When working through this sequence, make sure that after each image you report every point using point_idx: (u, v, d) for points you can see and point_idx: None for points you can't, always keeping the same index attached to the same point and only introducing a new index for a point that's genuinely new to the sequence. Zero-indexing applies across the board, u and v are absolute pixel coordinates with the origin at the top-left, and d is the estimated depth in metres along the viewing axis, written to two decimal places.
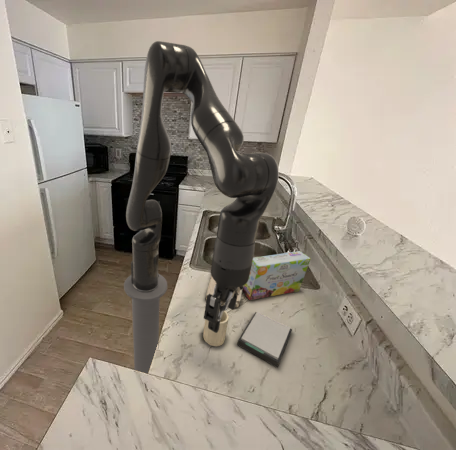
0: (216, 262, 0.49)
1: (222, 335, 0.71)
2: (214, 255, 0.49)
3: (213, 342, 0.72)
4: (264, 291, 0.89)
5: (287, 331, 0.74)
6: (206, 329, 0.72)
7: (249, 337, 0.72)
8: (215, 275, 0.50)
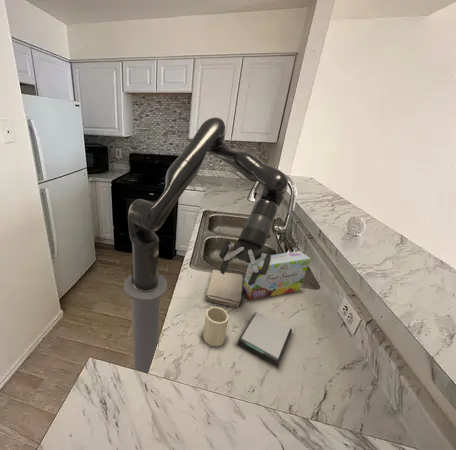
0: None
1: (222, 335, 0.71)
2: None
3: (213, 342, 0.72)
4: (264, 291, 0.89)
5: (287, 331, 0.74)
6: (206, 329, 0.72)
7: (249, 337, 0.72)
8: None
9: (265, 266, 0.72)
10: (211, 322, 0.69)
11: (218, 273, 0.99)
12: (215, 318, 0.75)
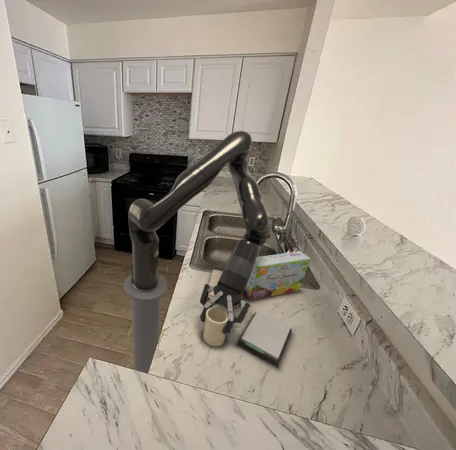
0: None
1: (222, 335, 0.71)
2: None
3: (213, 342, 0.72)
4: (264, 291, 0.89)
5: (287, 331, 0.74)
6: (206, 329, 0.72)
7: (249, 337, 0.72)
8: None
9: (241, 315, 0.69)
10: (211, 322, 0.69)
11: (218, 273, 0.99)
12: (215, 318, 0.75)
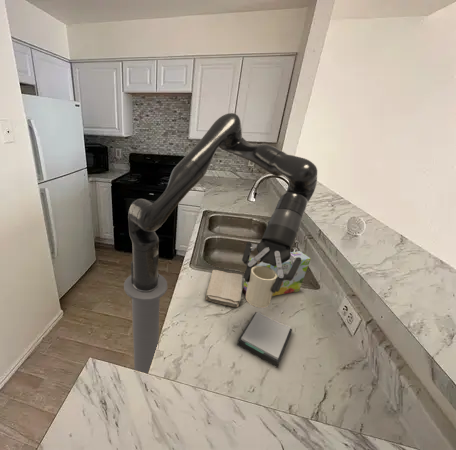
0: None
1: (270, 295, 0.65)
2: None
3: (259, 303, 0.65)
4: None
5: (287, 331, 0.74)
6: (251, 289, 0.66)
7: (249, 337, 0.72)
8: None
9: (293, 271, 0.62)
10: (259, 279, 0.63)
11: (218, 273, 0.99)
12: None
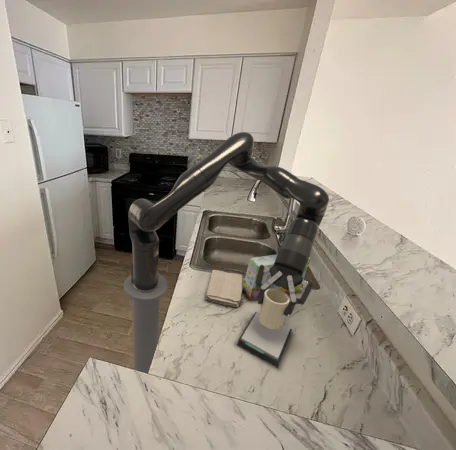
0: None
1: (282, 317, 0.68)
2: None
3: (272, 325, 0.68)
4: None
5: (287, 331, 0.74)
6: (265, 311, 0.69)
7: (249, 337, 0.72)
8: None
9: (305, 296, 0.65)
10: (272, 303, 0.66)
11: (218, 273, 0.99)
12: (271, 300, 0.72)
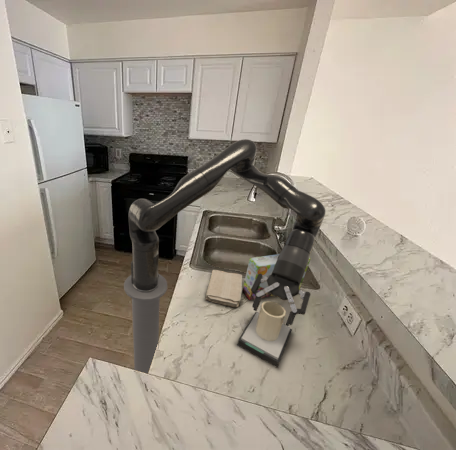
0: None
1: (278, 329, 0.70)
2: None
3: (269, 337, 0.70)
4: None
5: (287, 331, 0.74)
6: (261, 323, 0.71)
7: (249, 337, 0.72)
8: None
9: (304, 306, 0.66)
10: (269, 316, 0.68)
11: (218, 273, 0.99)
12: (268, 312, 0.74)
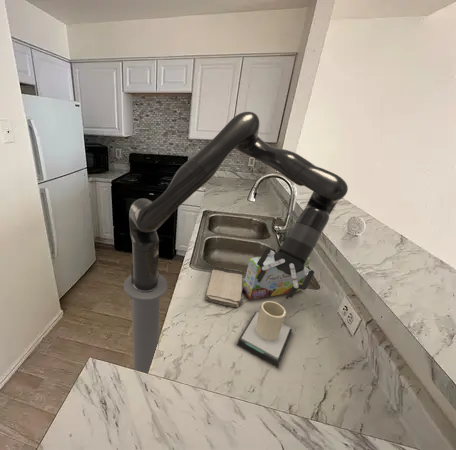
0: None
1: (278, 329, 0.70)
2: None
3: (269, 337, 0.70)
4: (264, 291, 0.89)
5: (287, 331, 0.74)
6: (261, 323, 0.71)
7: (249, 337, 0.72)
8: None
9: (306, 283, 0.70)
10: (269, 316, 0.68)
11: (218, 273, 0.99)
12: (268, 312, 0.74)
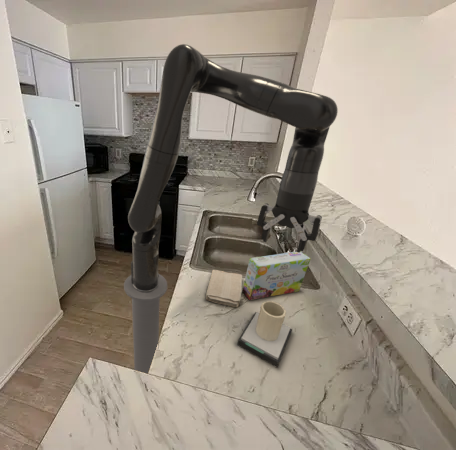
0: None
1: (278, 329, 0.70)
2: None
3: (269, 337, 0.70)
4: (264, 291, 0.89)
5: (287, 331, 0.74)
6: (261, 323, 0.71)
7: (249, 337, 0.72)
8: None
9: (315, 233, 0.61)
10: (269, 316, 0.68)
11: (218, 273, 0.99)
12: (268, 312, 0.74)
